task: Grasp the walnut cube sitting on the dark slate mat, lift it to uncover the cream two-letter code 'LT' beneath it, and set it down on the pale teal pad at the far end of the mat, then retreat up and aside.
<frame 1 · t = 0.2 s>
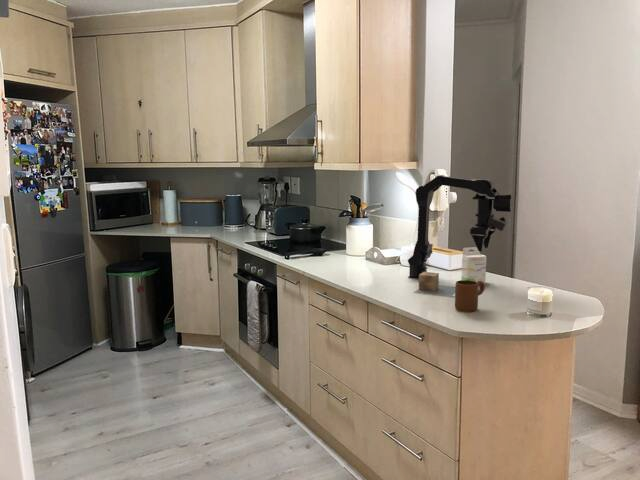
hand: (483, 249, 211), 14 cm above the worktop, fingers open, 9 cm apart
mug: (470, 308, 181), on the worktop
code mat: (447, 291, 203), on the worktop
walnut cube: (428, 288, 207), resting on code mat
ink box: (473, 283, 216), on the worktop
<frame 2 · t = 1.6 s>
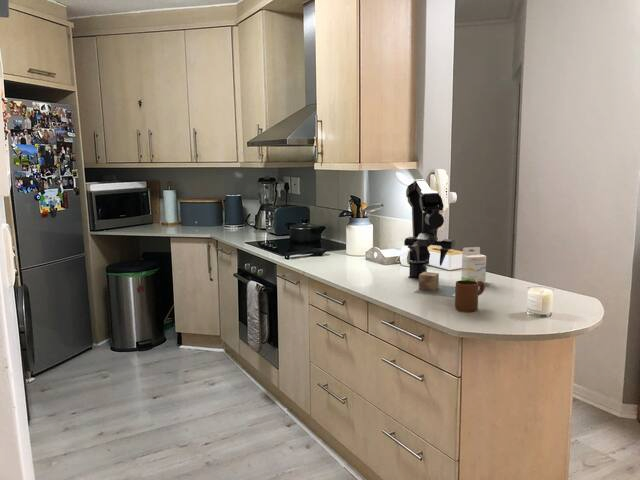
hand: (429, 264, 205), 10 cm above the worktop, fingers open, 9 cm apart
nothing on the worktop moved.
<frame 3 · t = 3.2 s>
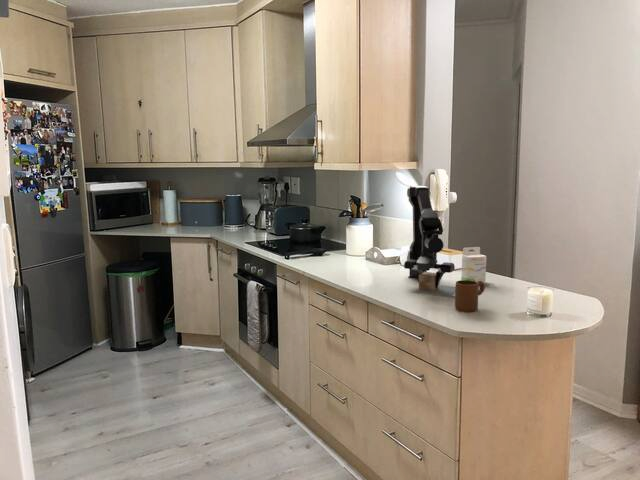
hand: (428, 287, 207), 1 cm above the worktop, fingers closed on walnut cube, 6 cm apart
walnut cube: (428, 288, 207), resting on code mat, touching gripper
everything else where it was.
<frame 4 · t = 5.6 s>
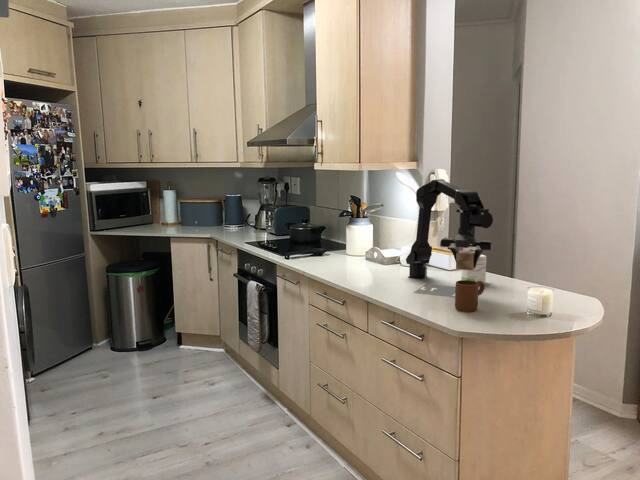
hand: (466, 266, 198), 11 cm above the worktop, fingers closed on walnut cube, 6 cm apart
walnut cube: (466, 268, 198), point 10 cm above the worktop, touching gripper
everything else where it was.
when the fingers open (2 cm above the worktop, at t = 7.9 s): walnut cube drops 1 cm, resting on code mat.
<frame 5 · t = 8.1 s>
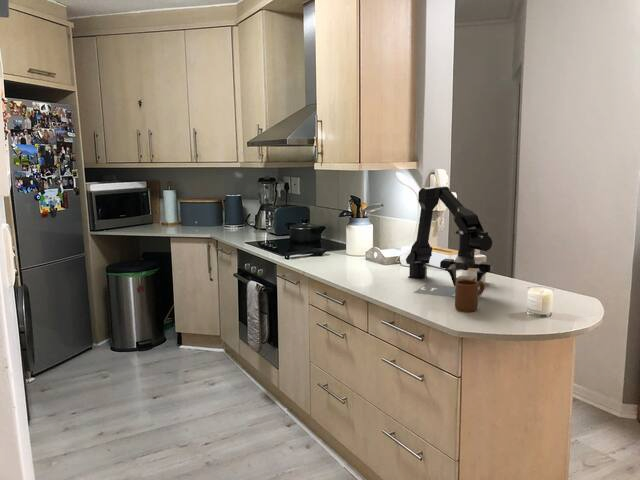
hand: (465, 287, 199), 2 cm above the worktop, fingers open, 8 cm apart
walnut cube: (465, 293, 200), resting on code mat
everything else where it was.
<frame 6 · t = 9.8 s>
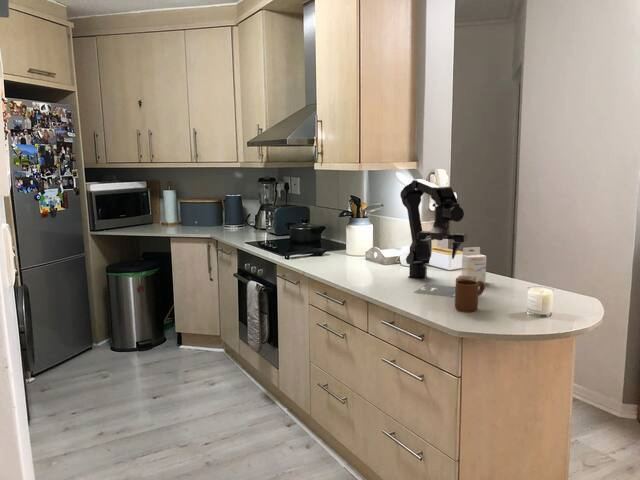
hand: (441, 257, 209), 12 cm above the worktop, fingers open, 9 cm apart
nothing on the worktop moved.
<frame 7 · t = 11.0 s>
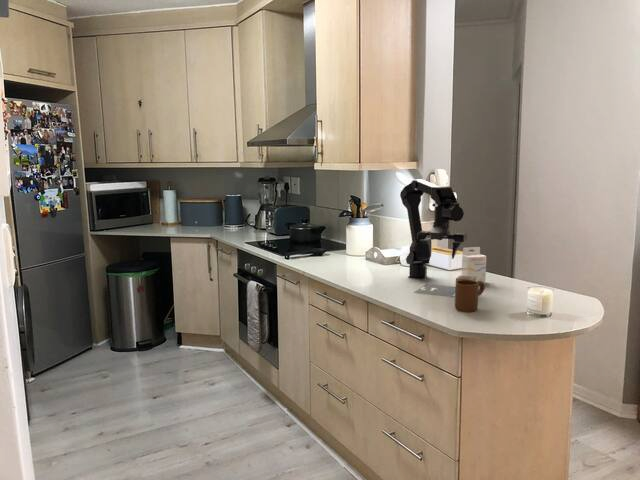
hand: (441, 257, 209), 12 cm above the worktop, fingers open, 9 cm apart
nothing on the worktop moved.
at the end: walnut cube moved 14.5 cm from its start; walnut cube inside the target area (0.1 cm from its centre), resting on code mat; the gripper is holding nothing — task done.
